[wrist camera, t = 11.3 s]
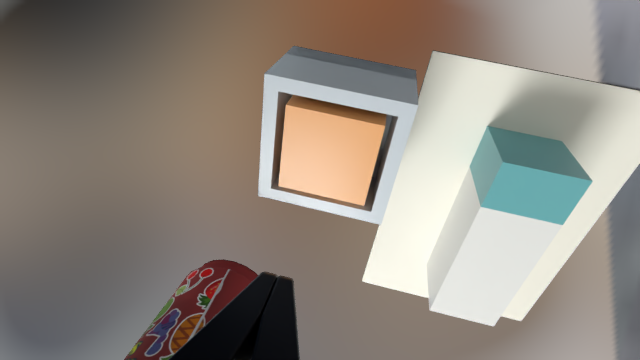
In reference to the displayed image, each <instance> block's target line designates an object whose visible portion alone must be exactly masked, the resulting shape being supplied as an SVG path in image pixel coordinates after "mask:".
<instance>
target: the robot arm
mask: <svg viewBox="0 0 640 360" xmlns="http://www.w3.org/2000/svg"><path fill="white" fill-rule="evenodd" d="M296 318H297V317H296V305H295V292H294V281H293V279H292V278H288V277H285V276H279V277H278V276H277V275H276V274H273V273H269V272H262V273H261V274H260V275H259V276H257V277H256V278H255V279H254V280H253V281H252V282H251V283H250V284H249V285H248V286H247V287H246V288H245V289H243V290H242V291H241V292H240V293H239V294H238V295H237V296H236V297H235V298H234V299H233V300H232V301H231V302H229V303H228V304H227V305H226V306H225V307H224V308H223V309H222V310H221V311H220V312H219V313H218V314H217V315H215V316H214V317H213V318H212V319H211V320H210V321H209V322H208V323H207V324H206V325H205V326H204V327H203V328H201V329H200V330H199V331H198V332H197V333H196V334H195V335H194V336H193V337H192V338H191V339H190V340H189V341H188V342H186V343H185V344H184V345H183V346H182V347H181V348H180V349H179V350H178V351H177V352H176V353H175V354H174V355H172V356H171V357H170V358H169V359H168V360H300V356H299V344H298V330H297V319H296Z"/></svg>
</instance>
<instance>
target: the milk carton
mask: <svg viewBox="0 0 640 360" xmlns="http://www.w3.org/2000/svg"><path fill="white" fill-rule="evenodd" d="M592 182H593V181H592V179H591V178H590V177H589V176H588V174H587V173H586V172H585V170H584V169H583V168H582V166H581V165H580V164H579V163H578V161H577V160H576V159H575V157H574V156H573V155H572V153H571V152H570V151H569V150H568V148H567V147H566V146H565V144H564V143H563V142H562V141H559V140H554V139H549V138H544V137H539V136H535V135H530V134H525V133H520V132H515V131H510V130H505V129H501V128H496V127H491V126H487V127H486V130H485V132H484V134H483V137H482V139H481V141H480V143H479V146H478V148H477V150H476V153H475V155H474V157H473V159H472V162H471V164H470V166H469V169H468V171H467V173H466V175H465V178H464V180H463V182H462V185H461V187H460V189H459V191H458V194H457V196H456V198H455V201H454V203H453V205H452V207H451V210H450V212H449V214H448V217H447V219H446V221H445V223H444V226H443V228H442V230H441V233H440V235H439V237H438V239H437V242H436V244H435V246H434V249H433V251H432V253H431V256H430V258H429V260H428V262H427V278H428V294H429V309H430V310H431V311H434V312H438V313H443V314H446V315H451V316H455V317H459V318H462V319H466V320H470V321H474V322H479V323H482V324H486V325H490V326H494V325H495V324H496V322H497V321H498V319H499V318H500V316H501V315H502V313H503V312H504V311H505V309H506V308H507V306H508V305H509V303H510V302H511V300H512V299H513V297H514V296H515V294H516V293H517V292H518V290H519V289H520V287H521V286H522V284H523V283H524V281H525V280H526V278H527V277H528V275H529V274H530V272H531V271H532V270H533V268H534V267H535V265H536V264H537V262H538V261H539V259H540V258H541V256H542V255H543V253H544V252H545V251H546V249H547V248H548V246H549V245H550V243H551V242H552V240H553V239H554V237H555V236H556V234H557V233H558V231H559V230H560V229H561V227H562V226H563V224H564V223H565V221H566V220H567V218H568V217H569V215H570V214H571V212H572V211H573V210H574V208H575V207H576V205H577V204H578V202H579V201H580V199H581V198H582V196H583V195H584V193H585V192H586V190H587V189H588V188H589V186H590V185H591V183H592Z"/></svg>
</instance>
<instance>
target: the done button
mask: <svg viewBox="0 0 640 360" xmlns="http://www.w3.org/2000/svg"><path fill="white" fill-rule="evenodd" d="M386 116H387V114H383V113H379V112H374V111H369V110H364V109H360V108H355V107H350V106H345V105H341V104H336V103H331V102H326V101H322V100H317V99H312V98H307V97H303V96H298V95H293V96H292V97H291V98H290V100H289V101H288V103H287V104H286V108H285V119H284V130H283V141H282V151H281V162H280V173H279V184H278V186H280V187H285V188H289V189H293V190H297V191H302V192H306V193H310V194H315V195H319V196H323V197H328V198H332V199H336V200H340V201H345V202H349V203H353V204H358V205H362V206H364V205H365V201H366V197H367V193H368V190H369V186H370V182H371V178H372V175H373V171H374V167H375V163H376V159H377V156H378V152H379V148H380V144H381V141H382V137H383V133H384V129H385V125H386Z"/></svg>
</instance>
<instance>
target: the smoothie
mask: <svg viewBox="0 0 640 360" xmlns="http://www.w3.org/2000/svg"><path fill="white" fill-rule="evenodd" d="M257 276H258V275H257V274H256V273H255V272H254V271H252V270H251V269H249V268H248V267H246V266H244V265H242V264H239V263H237V262H234V261H228V260H213V261H210V262H208V263H205V264H204V265H203V266H202V267H201V268H198V269H196V270H194V271H191V272H190V273H189V274H188V276H187V277H186V278H185V279H184V281H183V282H182V283H181V285H180V286H179V287H178V289H177V290H176V291H175V293H174V294H173V295H172V297H171V298H170V299H169V301H168V302H167V303H166V305H165V306H164V307H163V309H162V310H161V311H160V312H159V314H158V315H157V317H156V318H155V319H154V320H153V322H152V323H151V325H150V326H149V327H148V328H147V330H146V331H145V332H144V334H143V335H142V336H141V338H140V339H139V340H138V342H137V343H136V345H135V346H134V347H133V348H132V350H131V351H130V352H129V354H128V355H127V356H126V358H125V359H124V360H168V359H169V358H170V357H171V356H172V355H174V354H175V353H176V352H177V351H178V350H179V349H180V348H181V347H182V346H183V345H184V344H185V343H186V342H188V341H189V340H190V339H191V338H192V337H193V336H194V335H195V334H196V333H197V332H198V331H199V330H200V329H201V328H203V327H204V326H205V325H206V324H207V323H208V322H209V321H210V320H211V319H212V318H213V317H214V316H215V315H217V314H218V313H219V312H220V311H221V310H222V309H223V308H224V307H225V306H226V305H227V304H228V303H229V302H231V301H232V300H233V299H234V298H235V297H236V296H237V295H238V294H239V293H240V292H241V291H242V290H243V289H245V288H246V287H247V286H248V285H249V284H250V283H251V282H252V281H253V280H254V279H255V278H256V277H257Z"/></svg>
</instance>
